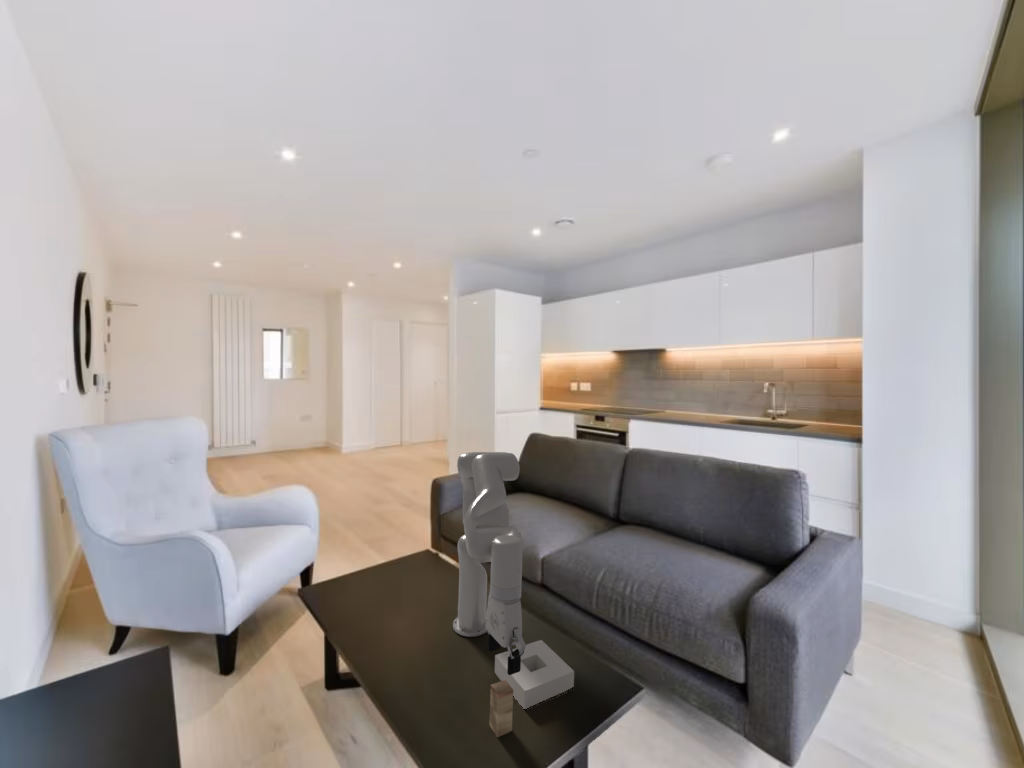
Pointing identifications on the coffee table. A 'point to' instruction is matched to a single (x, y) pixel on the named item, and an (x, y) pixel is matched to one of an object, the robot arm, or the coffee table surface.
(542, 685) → the socket block
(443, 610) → the coffee table surface
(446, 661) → the coffee table surface
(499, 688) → the maple peg
